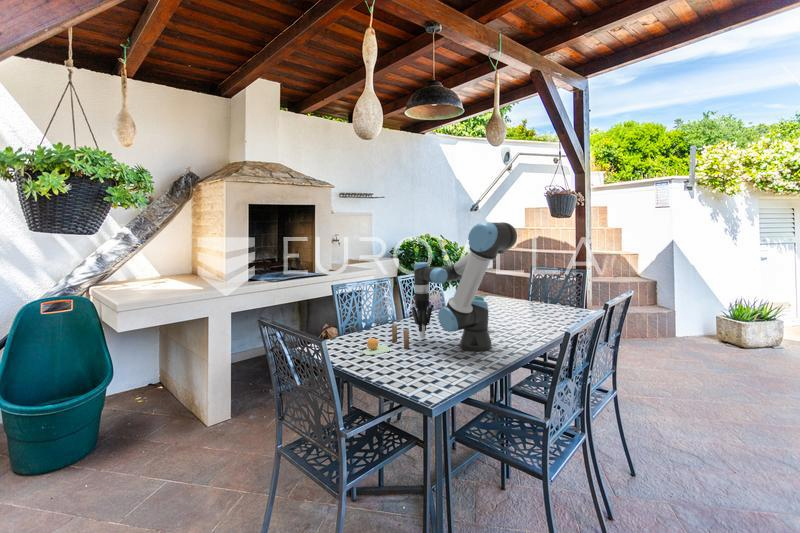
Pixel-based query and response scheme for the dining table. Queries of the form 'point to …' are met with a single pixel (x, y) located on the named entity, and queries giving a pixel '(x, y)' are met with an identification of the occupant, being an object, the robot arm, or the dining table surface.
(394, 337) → the post
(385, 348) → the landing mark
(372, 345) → the ball
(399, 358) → the dining table surface
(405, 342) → the post
